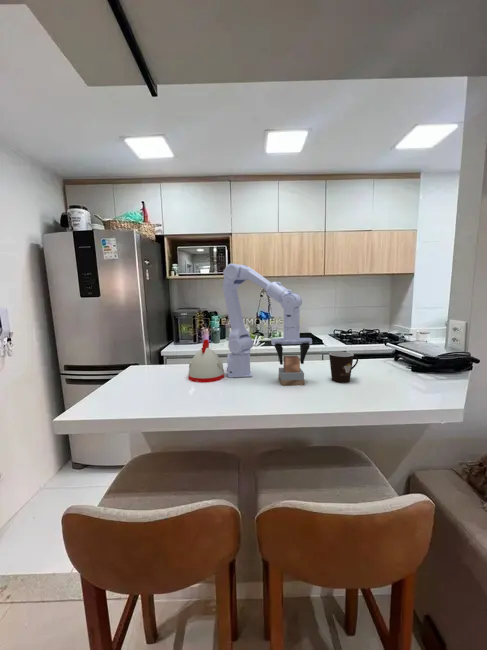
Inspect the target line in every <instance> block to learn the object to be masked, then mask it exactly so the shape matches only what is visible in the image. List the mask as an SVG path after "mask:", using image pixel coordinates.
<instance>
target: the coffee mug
mask: <svg viewBox="0 0 487 650" xmlns="http://www.w3.org/2000/svg"><path fill="white" fill-rule="evenodd" d="M328 355H329V365H330V366H329V367H330V374H331V381H332V382H334V383H339V384H347V383H350V382H351V376H352V370H353V369H354V368H355V367H356V366H357V365H358V363H359V362H358V361H359V357H358V356H357V355H354V353H352V352H348V351H332V352H329V353H328ZM354 358H355V359H356V361H355V363H354V364H353V362H354Z"/></svg>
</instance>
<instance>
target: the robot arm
mask: <svg viewBox="0 0 487 650" xmlns="http://www.w3.org/2000/svg"><path fill="white" fill-rule="evenodd" d="M222 273H223V282H222V292H223V297H224V301H225V307H226V312H227V315H228V321H229V325H230V332H229V334H228V349H229V351H230V353H227V355H226V356H227V367H226V372H227V378H248V377H252V376H253V374H252V371H251V349H253V345H254V341H253V339H252V337H251V335H250V332H249V330H248V329H246V327H245V323H244V318H243V312H242V308H241V302H240V299H239V298H240V297H239V293H238V289H239V287H240V286H241V285H242V284H243V283H245V282H246V281H248V280H249V281H250V282H252V283H254V284H256V285H257V286H259V287H261V288H262V289H264V290H265V291H266V292H265V293H266V295H267V296H268V297H270V298H271V299H273V300H274V301H275V302H277V303H278V304H280V306H281V308H282V309H283V337H282V338H270V339H271V342H270V343H271V344H270V345H272V346H274V348H275V350H276V353H277V356H278V359H279V361H278V362H279V364H280V365H283V366H284V358H283V350H284V349H283V346H284V345H299V350H300V357H299V358H300V365H304V364H305V358H306V357H307V353H308V351H309V349H310V346H311V345H312V344H313V339H312V338H311V337H300V335H301V334H300V333H301V331H300V327H301V326H300V321H301V319H300V318H301V317H300V312H301V311H300V307H301V306H302V303H303V299H302V297H301V296H300V294H298V293H297V292H292V291H293V290H291V289H288V288H286V287H285V286H284V285H282V283H281V282H280V281H270V280H268V279H267V278H266V277H264V276H263V275H261V274H260V273H259V272H257V271H256V270H254V269H253V268H252V267H249V266H248V265H247V264H237V263H233V262H232V263H229V264H227V265H226V266H225V268H224V269H223V271H222Z"/></svg>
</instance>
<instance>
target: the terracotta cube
mask: <svg viewBox="0 0 487 650" xmlns="http://www.w3.org/2000/svg"><path fill="white" fill-rule="evenodd" d="M283 368H284V370H285V372H286V373H292V372H300V368H301V363H300V357H299V356H298V355H283Z"/></svg>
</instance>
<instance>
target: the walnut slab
mask: <svg viewBox="0 0 487 650" xmlns="http://www.w3.org/2000/svg"><path fill="white" fill-rule="evenodd" d="M278 381H279V382H280V384H281V386H282V387H291V386H292V387H295V386H305V384H306V381H305V379H304V380H281V378H280V376H279V375H278Z"/></svg>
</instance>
